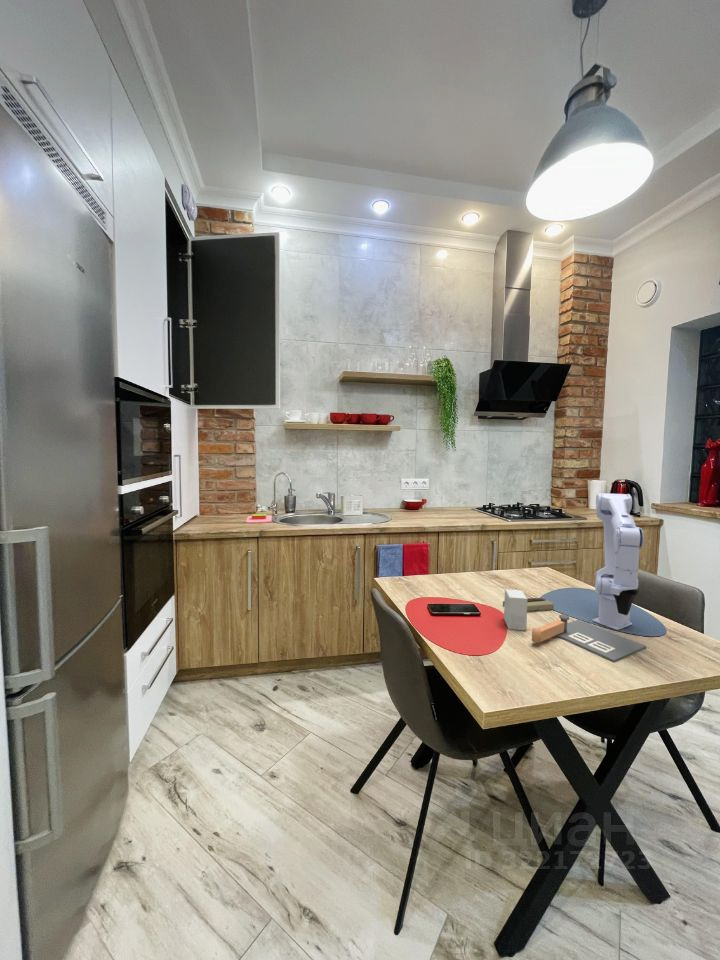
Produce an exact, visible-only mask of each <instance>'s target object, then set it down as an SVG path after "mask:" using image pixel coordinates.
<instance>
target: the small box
mask: <svg viewBox="0 0 720 960" xmlns="http://www.w3.org/2000/svg"><path fill="white" fill-rule="evenodd" d="M528 599H529V598H528V597H527V596H526V595H525V593H524V591H523V590H518V589H507V588H505V589H504V601H505V604H504V607H503V608H504V609H503V620H504V622H505V624H506V626H507V628H508V630H515V631H516V630H517V631H527V623H528V621H527V619H528V613H527V600H528Z"/></svg>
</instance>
